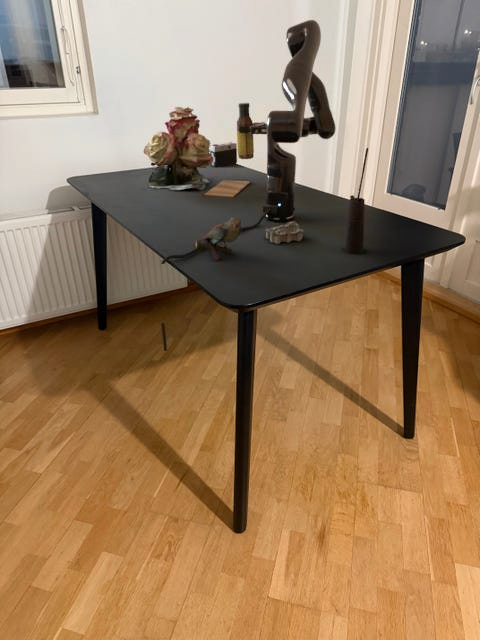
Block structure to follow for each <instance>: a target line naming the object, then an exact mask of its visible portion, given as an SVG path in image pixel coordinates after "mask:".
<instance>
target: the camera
mask: <svg viewBox="0 0 480 640" xmlns="http://www.w3.org/2000/svg"><path fill="white" fill-rule="evenodd" d="M209 149H210V152H209V153H210V155H212V157H213V163H212V164H211V165H210V167H213V168H217V167H223V166H228V165H234V164H237V163H238V142H237V143H236V142H232V141H229V142H225V143H219V144H218V143H217V144H216V143H215V144H214V143H213V144H210V146H209Z"/></svg>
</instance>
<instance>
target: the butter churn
mask: <svg viewBox="0 0 480 640" xmlns="http://www.w3.org/2000/svg"><path fill="white" fill-rule="evenodd" d="M364 153H365V155H364V159H363V164H362V170H361V176H360V181H359V187H358V193H357V197H355V195H354V194H353V195H350V196H349V201H348V202H349V203H348V208H347V209H348V210H347V218H346V219H347V220H346V232H345V242H344V243H345V244H344V251H345V252H346V253H348V254H353V255H355V254H361V253H363V252H364V249H365V247H364V246H365V245H364V241H365V240H364V237H365V232H364V231H365V211H366V210H365V206H366V205H365V201H366V200H365V199H364V198H363V197H361V191H362V185H363V181H364V180H363V179H364V175H365V174H364V173H365V168H366V164H367V159H368V153H369V148H368V147H366V149H365V152H364Z"/></svg>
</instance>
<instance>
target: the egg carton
mask: <svg viewBox="0 0 480 640" xmlns="http://www.w3.org/2000/svg"><path fill="white" fill-rule="evenodd" d="M264 230H265V233H266V235H265V238H266V239H267V240H269V241H270V243H271V244H272V243H273V244H277V245H278V244H280V243H291V241H297V242H300V241H302V240H303V236H304V233H305V231H304V229H302V228H300V226H299V224H298V223H297V222H296V221H295V220H294V221H288V222H286V223H285V224H281V225H280V226H273V227H271V228H264Z"/></svg>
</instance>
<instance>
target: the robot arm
mask: <svg viewBox="0 0 480 640" xmlns="http://www.w3.org/2000/svg"><path fill="white" fill-rule="evenodd" d="M285 38H286V39H285V40H286V45H287V48H288V51H289V55H290V56H291V59H290V60H289V61H288V63H287V64H286V66H285V68H284V71H283V74H282V79H281V84H280V85H281V91H282V93H283V96H284V97H285V98H286V101H287V102H288V104H290V106H291V108H292V110H270V111H269V113H268V115H267V119H266V122H265V121H261V122H252V124H253V126H240V127H239V132H240V133H250V134H253V135H266V192H265V193H266V197H265V199H266V200H265V203H264V204H263V205H262V213H263V214H262V215H261V216H260V217H259V219H258V221H257V222H255V223H254V224H252V225H250V226H249V225H248V226H243V227H242V226H241V227H242V231H247V230H251V229H254V228H256V227H258V226H259V225H260V224H261V223H262V221H263V220H264V218H266V219H267V221H273V222H283V223H284V222H286V223H287V221H290V220H293V219H294V216H295V215H294V212H295V211H296V208H295V205H294V204H295V202H294V201H295V188H296V187H295V186H296V184H295V183H296V171H297V170H296V168H297V157H296V155H294V154H293V153H292V152H289V151H286V150H284V149H283V148H282V147H281V146H280V144H295V143H298V142H300V139H301V138H307V137H309V136H311V135H318V137H320V138H321V139H322V140H329V139H332V138H333V136H335V133H336V129H337V127H336V122H335V120H334V116H333V114H332V113H333V112H332V111H331V107H330V102H329V96H328V93H327V89H326V87H325V84H324V82H323V81H322V79H321V78H319V76H318V75H317V74H316V73H315V72H314V71H313V70H314V66H315V61H316V59H317V55H318V52H319V50H320V46H321V40H322V31H321V27H320V24H319V23H318V21H316V20H315V19H309V20H305V21H302V22H300V23H297V24H295V25H292V26H290V27H288V28H287V30H286V33H285ZM307 101H308V105H309V107H310V108H309V109H310V111H311V114H312V116H309V117H305V111H306V105H307ZM200 250H203V248H196V247H195V248H193V249H192V250H189V251H188V252H186V253H183V254H170V255H167V256H166V257H164V258H163V259H162V260H161V262H160V264H161V265H165V264H166V262H167V261H169V260H171V259H183V258H186V257H189V256H191V255H193V254H195V253H197V252H198V251H200ZM160 325H161V333H162V335H161V336H162V342H163V344H162V345H163V352H167V351H168V345H167V335H166V326H165V325H166V324H165V322H160Z"/></svg>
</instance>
